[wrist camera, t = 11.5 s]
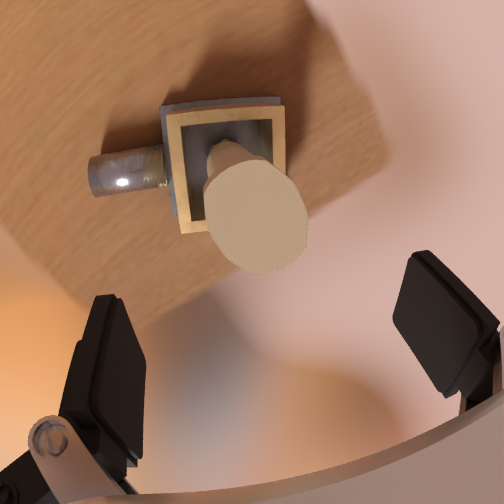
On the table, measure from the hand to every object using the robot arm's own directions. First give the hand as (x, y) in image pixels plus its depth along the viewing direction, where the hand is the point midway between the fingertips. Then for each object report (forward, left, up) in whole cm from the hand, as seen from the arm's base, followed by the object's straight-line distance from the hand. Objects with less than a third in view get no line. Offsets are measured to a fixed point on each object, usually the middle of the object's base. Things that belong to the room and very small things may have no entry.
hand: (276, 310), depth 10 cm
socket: (0, -3, -23) cm, 24 cm away
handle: (0, 0, -22) cm, 22 cm away
